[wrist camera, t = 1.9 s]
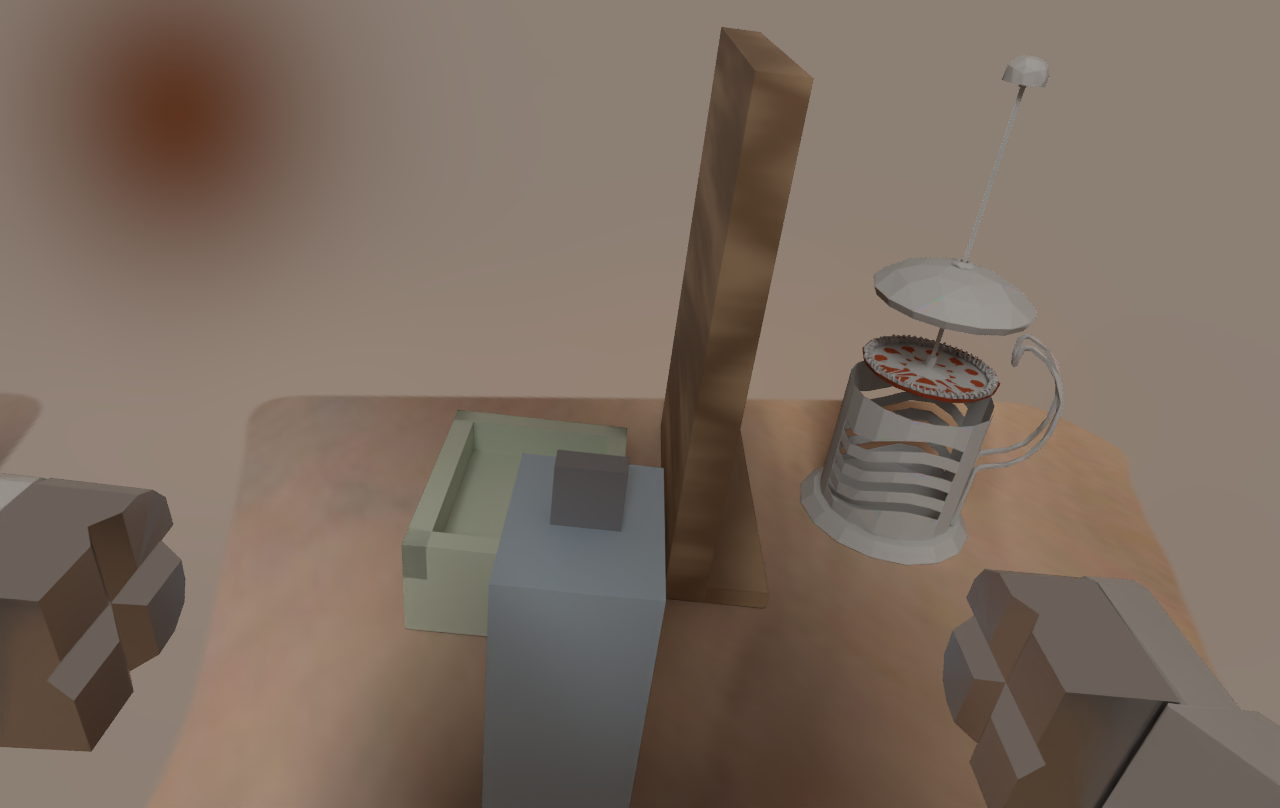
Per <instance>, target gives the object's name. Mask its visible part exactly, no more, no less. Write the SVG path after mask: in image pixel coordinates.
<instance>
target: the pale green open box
mask: <svg viewBox="0 0 1280 808" xmlns="http://www.w3.org/2000/svg"><path fill="white" fill-rule="evenodd" d="M626 437H627V428H623V427H613V426H604V425H595V424H585V423H576V422H567V421H558V420H548V419H539V418H530V417H520V416H511V415H502V414H493V413H483V412H474V411H465V410H458V411H457V414H456V416H455V418H454V421H453V423H452V426H451V428H450V430H449V433H448V435H447V438H446V440H445V442H444V445H443V447H442V449H441V452H440V454H439V457H438V459H437V461H436V464H435V466H434V469H433V471H432V473H431V476H430V478H429V481H428V483H427V485H426V488H425V490H424V492H423V495H422V497H421V500H420V502H419V504H418V507H417V509H416V512H415V514H414V516H413V519H412V521H411V523H410V526H409V528H408V531H407V533H406V535H405V538H404V540H403V543H402V564H403V589H404V615H405V629H414V630H424V631H435V632H445V633H456V634H466V635H477V636H487V622H488V590H489V581H490V577H491V573H492V569H493V565H494V562H495V558H496V554H497V550H498V546H499V542H500V538H501V534H502V531H503V527H504V523H505V519H506V515H507V511H508V507H509V503H510V500H511V496H512V492H513V488H514V484H515V480H516V476H517V472H518V469H519V465H520V461H521V457H522V453H526V454H536V455H545V456H555V457H556V455H557V450H567V451H576V452H586V453H595V454H605V455H614V456H623V457H625V455H626Z"/></svg>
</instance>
